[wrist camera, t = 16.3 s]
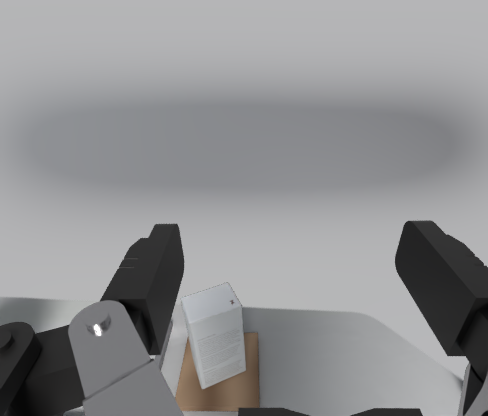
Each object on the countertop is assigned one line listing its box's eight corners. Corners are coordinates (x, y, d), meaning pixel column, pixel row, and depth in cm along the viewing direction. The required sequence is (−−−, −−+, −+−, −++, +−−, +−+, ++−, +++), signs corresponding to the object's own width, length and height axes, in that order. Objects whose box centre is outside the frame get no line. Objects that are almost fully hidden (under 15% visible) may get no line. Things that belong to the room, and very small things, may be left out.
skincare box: (234, 344, 42) (229, 280, 36) (246, 371, 39) (243, 305, 33) (191, 361, 40) (179, 296, 34) (200, 391, 37) (188, 325, 31)
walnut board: (257, 337, 45) (257, 332, 44) (259, 411, 36) (259, 406, 35) (189, 337, 45) (188, 333, 44) (174, 410, 36) (173, 406, 36)
